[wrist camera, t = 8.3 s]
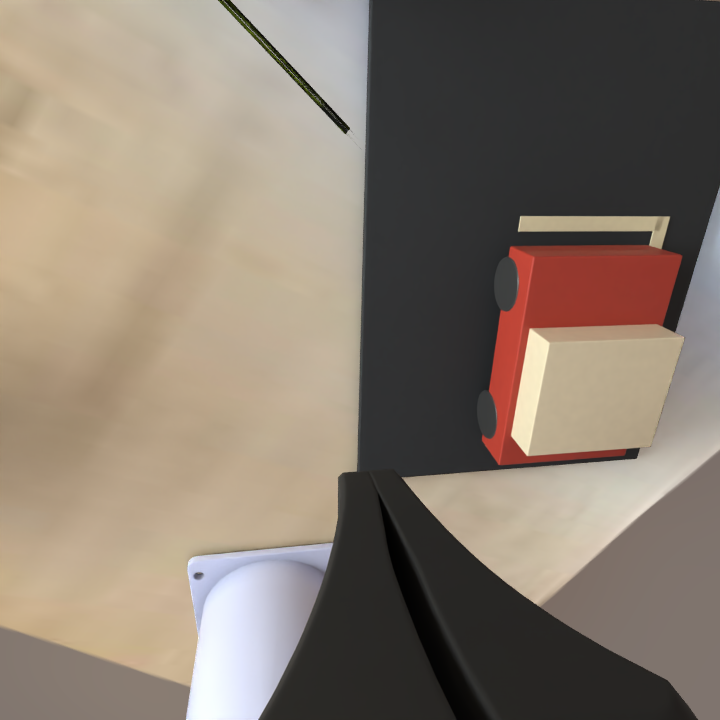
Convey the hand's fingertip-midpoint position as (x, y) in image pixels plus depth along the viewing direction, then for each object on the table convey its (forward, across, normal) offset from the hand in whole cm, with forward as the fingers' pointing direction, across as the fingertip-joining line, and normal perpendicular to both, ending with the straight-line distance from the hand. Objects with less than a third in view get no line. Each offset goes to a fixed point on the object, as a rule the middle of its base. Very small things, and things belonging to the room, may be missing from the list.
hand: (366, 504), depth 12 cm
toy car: (+8, -7, 0) cm, 10 cm away
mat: (+10, -9, -3) cm, 14 cm away
